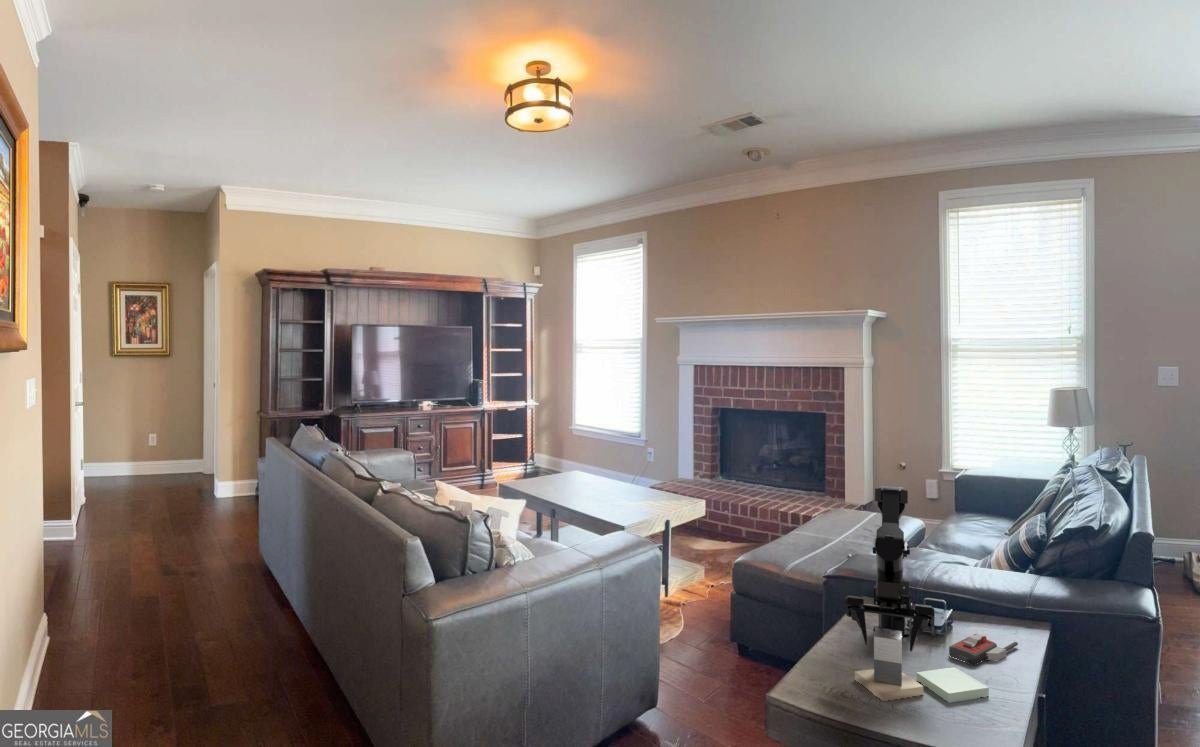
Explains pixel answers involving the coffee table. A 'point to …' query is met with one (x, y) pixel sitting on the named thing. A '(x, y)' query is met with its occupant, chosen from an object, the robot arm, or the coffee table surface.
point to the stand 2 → (952, 684)
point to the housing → (888, 656)
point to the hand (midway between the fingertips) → (888, 647)
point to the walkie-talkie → (978, 649)
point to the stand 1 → (889, 686)
